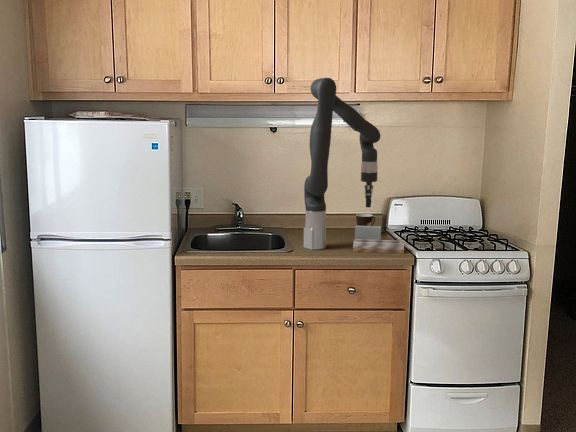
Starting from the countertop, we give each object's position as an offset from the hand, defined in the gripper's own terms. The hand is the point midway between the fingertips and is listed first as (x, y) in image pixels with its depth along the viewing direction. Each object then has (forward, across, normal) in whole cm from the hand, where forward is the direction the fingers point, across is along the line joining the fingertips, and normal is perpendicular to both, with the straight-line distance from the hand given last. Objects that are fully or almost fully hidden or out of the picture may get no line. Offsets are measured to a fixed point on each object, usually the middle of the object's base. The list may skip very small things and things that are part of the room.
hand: (368, 205), depth 268 cm
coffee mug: (+18, -20, -1) cm, 27 cm away
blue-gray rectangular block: (+18, 0, 0) cm, 18 cm away
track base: (+18, +15, +5) cm, 24 cm away
